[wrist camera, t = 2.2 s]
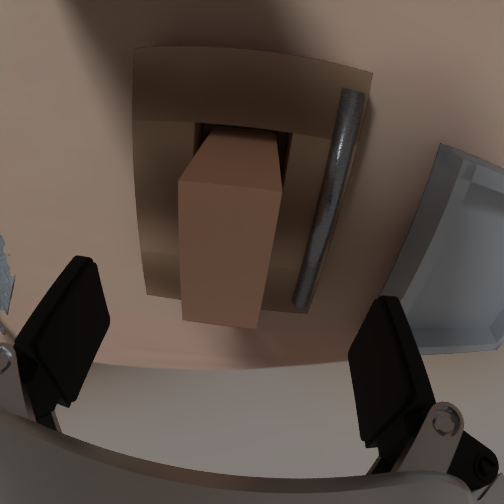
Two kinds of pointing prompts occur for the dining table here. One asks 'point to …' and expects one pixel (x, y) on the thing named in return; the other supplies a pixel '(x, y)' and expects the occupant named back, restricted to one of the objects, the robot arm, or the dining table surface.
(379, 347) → the robot arm
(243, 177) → the tan rectangular block
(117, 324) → the dining table surface
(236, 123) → the brown piece
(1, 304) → the stuffed giraffe
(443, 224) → the tray
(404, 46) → the dining table surface
